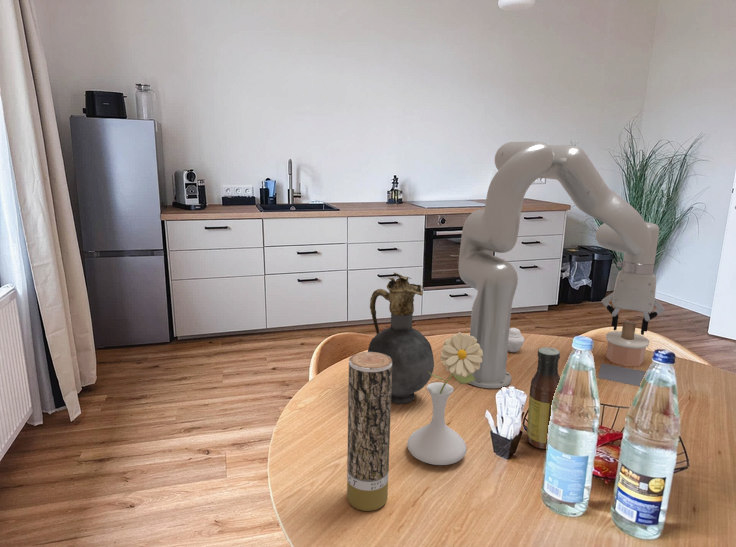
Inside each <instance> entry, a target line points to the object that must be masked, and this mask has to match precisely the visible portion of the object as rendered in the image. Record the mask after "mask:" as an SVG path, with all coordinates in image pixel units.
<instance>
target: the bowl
mask: <svg viewBox="0 0 736 547" xmlns="http://www.w3.org/2000/svg"><path fill="white" fill-rule="evenodd" d="M646 349H647V347H646V348H639V349H636V348H626V347H621V346H618V345H615V344H612V343H610V342H608V341H607V346H606V353H605V354H606V355H605V358H606V359H608V360H609V361H610V363H614V364H617V365H619V366H622V367H640V366H641V365H643V364H644V360H645V355H646V354H645V353H646Z"/></svg>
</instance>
